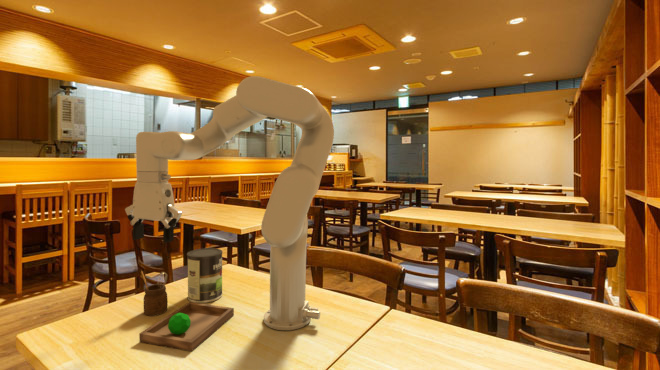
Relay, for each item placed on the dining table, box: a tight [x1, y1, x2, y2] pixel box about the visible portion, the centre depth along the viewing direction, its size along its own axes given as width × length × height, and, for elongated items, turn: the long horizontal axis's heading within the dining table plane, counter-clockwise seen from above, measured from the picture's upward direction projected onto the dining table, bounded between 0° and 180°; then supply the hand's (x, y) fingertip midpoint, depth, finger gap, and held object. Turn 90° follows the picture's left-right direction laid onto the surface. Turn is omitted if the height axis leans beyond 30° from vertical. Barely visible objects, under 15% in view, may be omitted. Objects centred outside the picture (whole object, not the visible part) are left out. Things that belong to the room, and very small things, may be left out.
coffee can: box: [186, 247, 223, 304], centre depth 104 cm, size 10×10×14 cm
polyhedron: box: [168, 313, 191, 335], centre depth 81 cm, size 5×5×5 cm
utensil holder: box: [141, 271, 169, 317], centre depth 93 cm, size 6×6×12 cm
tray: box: [138, 301, 235, 352], centre depth 85 cm, size 14×18×2 cm
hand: (153, 240), depth 92 cm, fingers open, 9 cm apart
